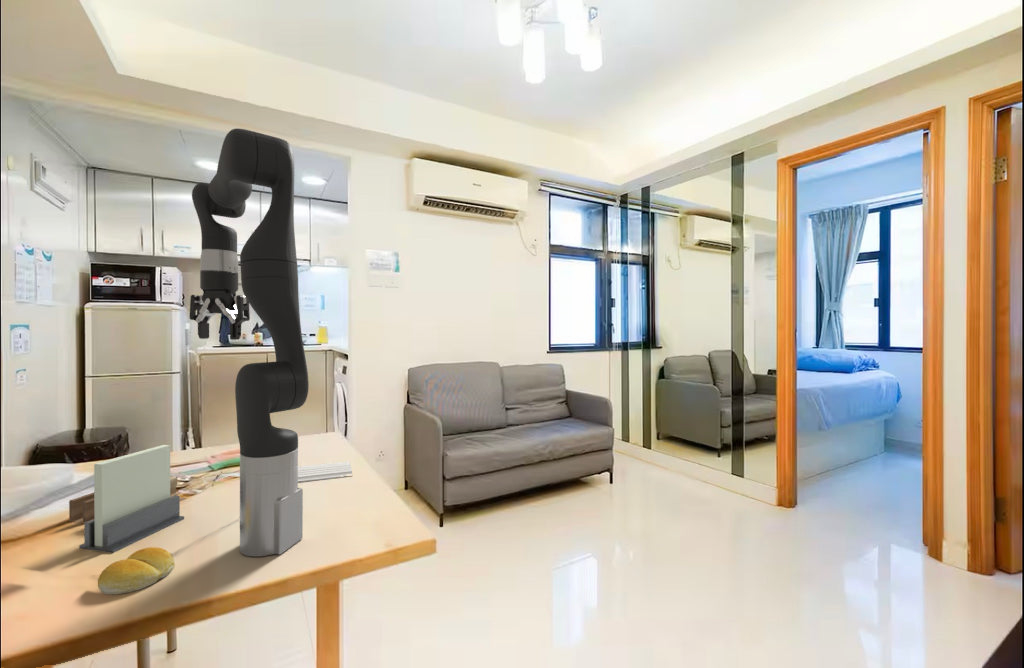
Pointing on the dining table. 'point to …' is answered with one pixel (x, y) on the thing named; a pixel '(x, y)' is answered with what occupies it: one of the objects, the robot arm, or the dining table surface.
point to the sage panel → (129, 485)
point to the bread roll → (136, 571)
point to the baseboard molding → (317, 471)
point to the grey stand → (133, 526)
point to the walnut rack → (84, 508)
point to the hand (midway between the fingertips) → (219, 339)
